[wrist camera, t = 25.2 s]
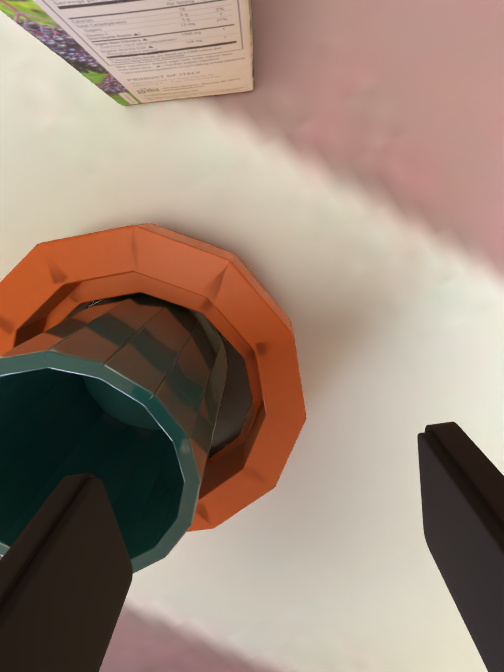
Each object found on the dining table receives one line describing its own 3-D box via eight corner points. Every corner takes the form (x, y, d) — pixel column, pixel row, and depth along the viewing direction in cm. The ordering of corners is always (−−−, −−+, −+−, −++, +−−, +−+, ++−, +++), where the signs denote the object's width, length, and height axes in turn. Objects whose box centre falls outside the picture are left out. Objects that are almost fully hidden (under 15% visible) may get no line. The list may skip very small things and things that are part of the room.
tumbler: (240, 419, 21) (222, 566, 12) (101, 440, 21) (-8, 592, 13) (209, 275, 18) (160, 331, 10) (55, 303, 19) (-116, 378, 11)
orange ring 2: (315, 483, 19) (321, 516, 17) (60, 515, 20) (36, 550, 18) (271, 200, 15) (272, 198, 13) (-43, 260, 16) (-88, 267, 14)
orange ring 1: (302, 473, 22) (306, 501, 20) (75, 505, 23) (56, 534, 21) (257, 227, 18) (256, 229, 16) (-14, 281, 19) (-49, 290, 17)
